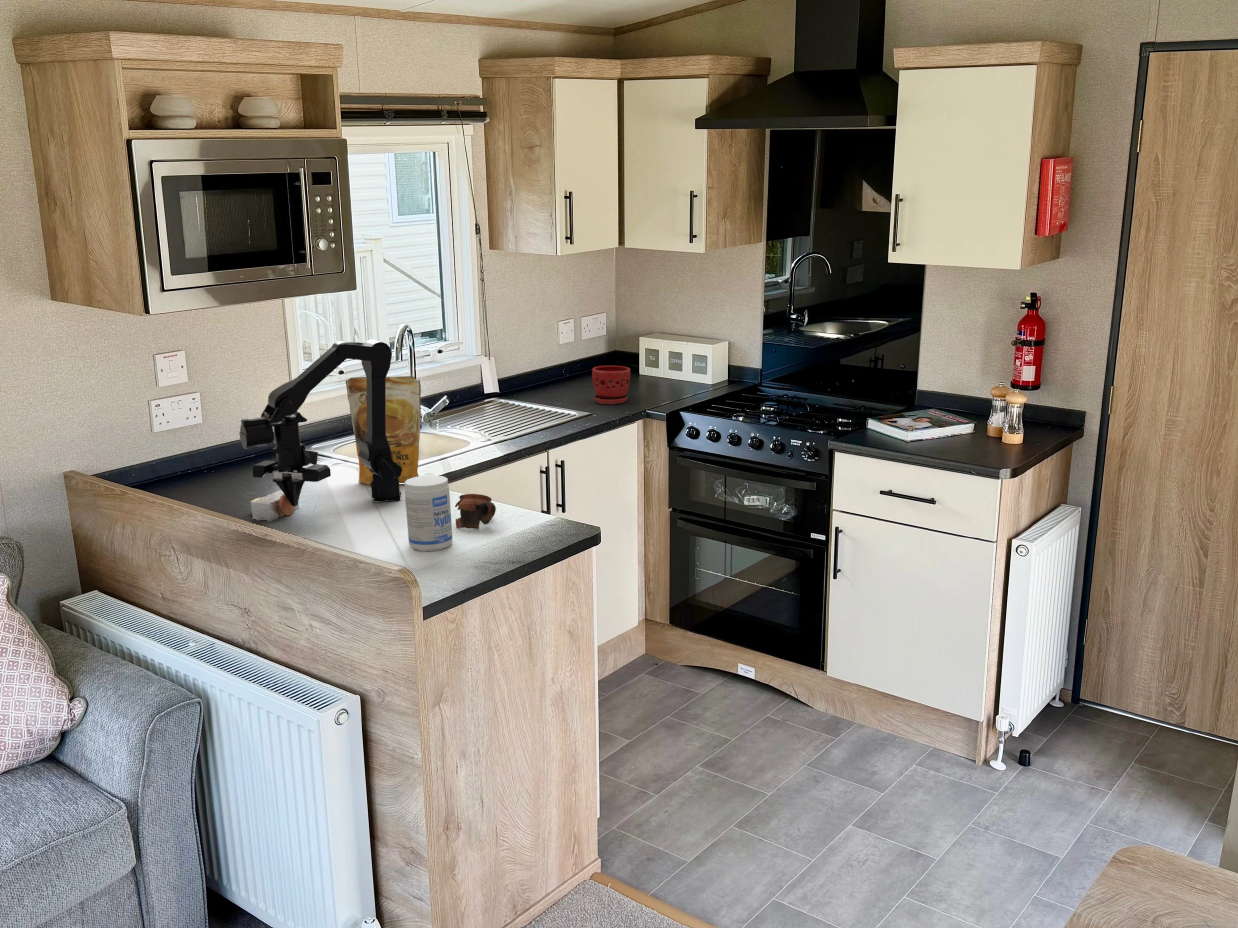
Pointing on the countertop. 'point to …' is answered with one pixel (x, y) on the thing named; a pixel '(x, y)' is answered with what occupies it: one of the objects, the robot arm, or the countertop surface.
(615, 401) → the plant pot
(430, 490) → the supplement tub
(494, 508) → the pottery mug
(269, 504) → the block
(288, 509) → the lynch pin
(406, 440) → the pancake mix bag
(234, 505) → the countertop surface
